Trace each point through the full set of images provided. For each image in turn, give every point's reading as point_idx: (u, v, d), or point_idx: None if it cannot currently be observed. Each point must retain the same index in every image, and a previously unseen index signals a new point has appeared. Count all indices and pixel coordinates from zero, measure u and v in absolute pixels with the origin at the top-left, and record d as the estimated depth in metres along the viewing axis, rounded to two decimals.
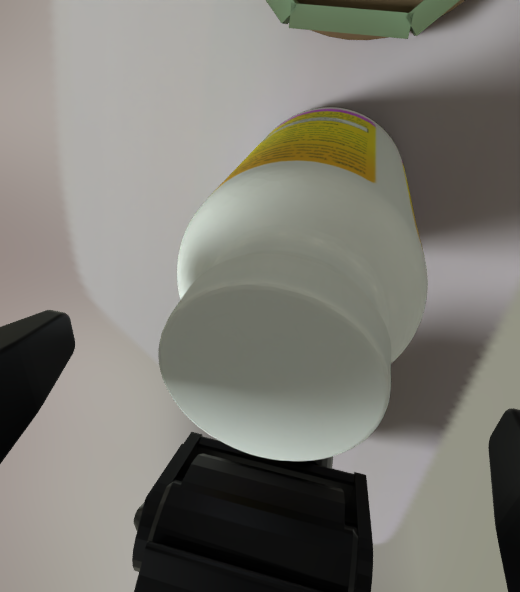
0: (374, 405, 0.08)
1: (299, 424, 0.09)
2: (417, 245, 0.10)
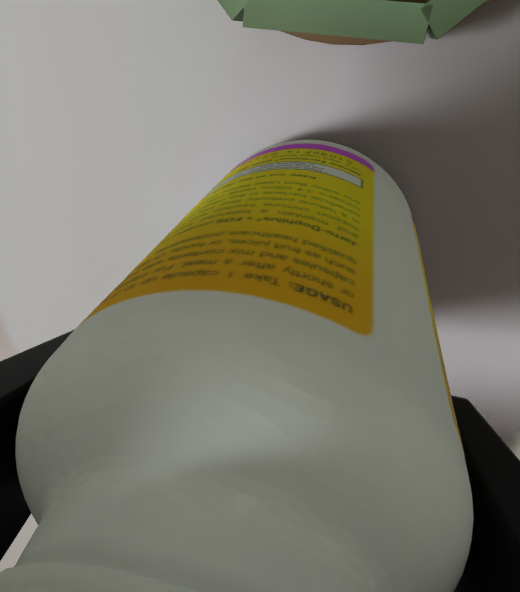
0: None
1: None
2: (458, 469, 0.05)
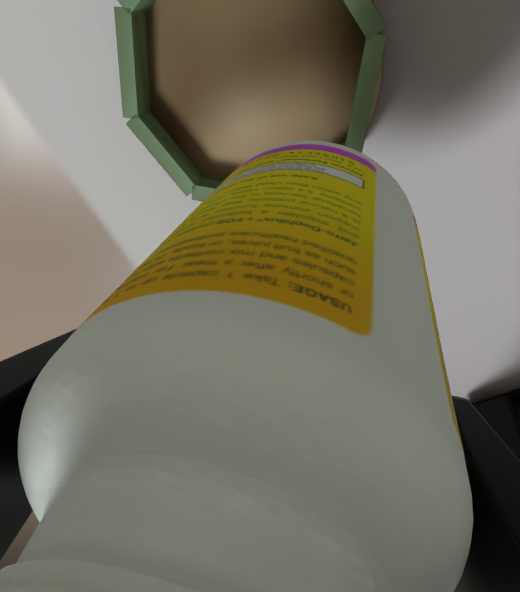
0: None
1: None
2: (457, 469, 0.05)
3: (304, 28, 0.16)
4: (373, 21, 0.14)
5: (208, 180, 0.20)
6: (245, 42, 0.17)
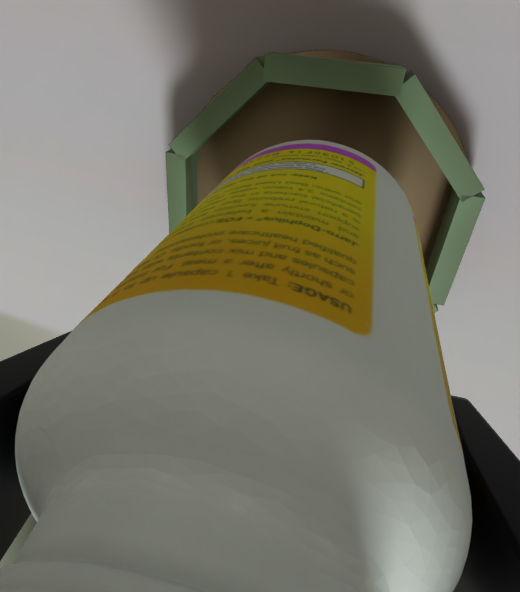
0: None
1: None
2: (456, 470, 0.05)
3: (327, 139, 0.14)
4: (389, 77, 0.12)
5: None
6: None
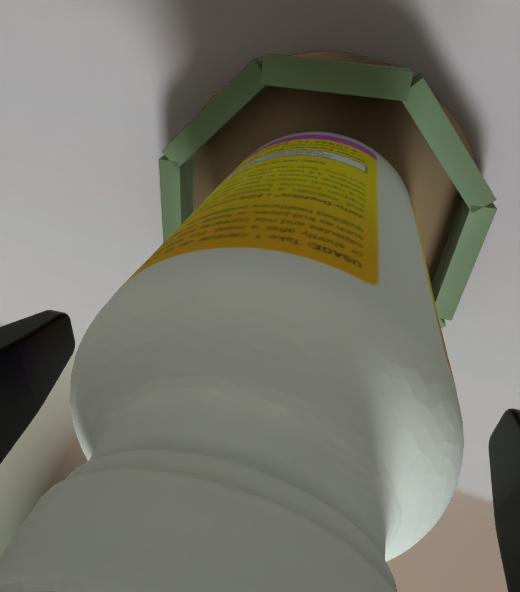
0: None
1: None
2: (450, 394, 0.06)
3: None
4: (396, 80, 0.11)
5: None
6: None
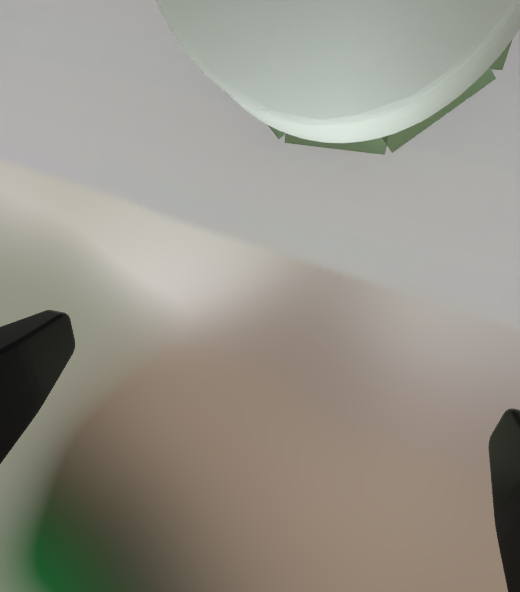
0: None
1: None
2: None
3: None
4: None
5: None
6: None
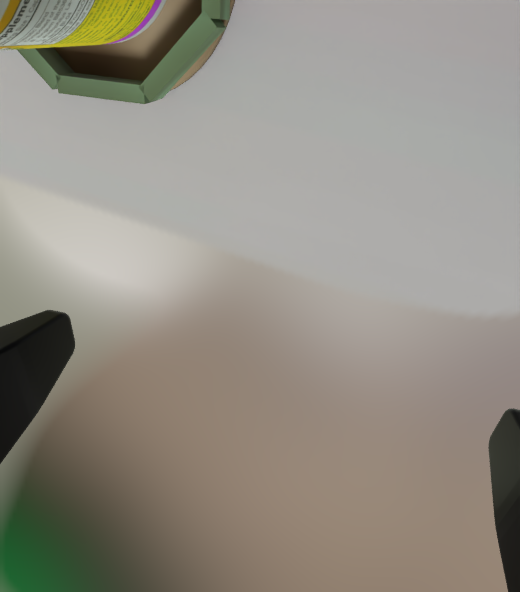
0: None
1: None
2: None
3: None
4: None
5: None
6: None
